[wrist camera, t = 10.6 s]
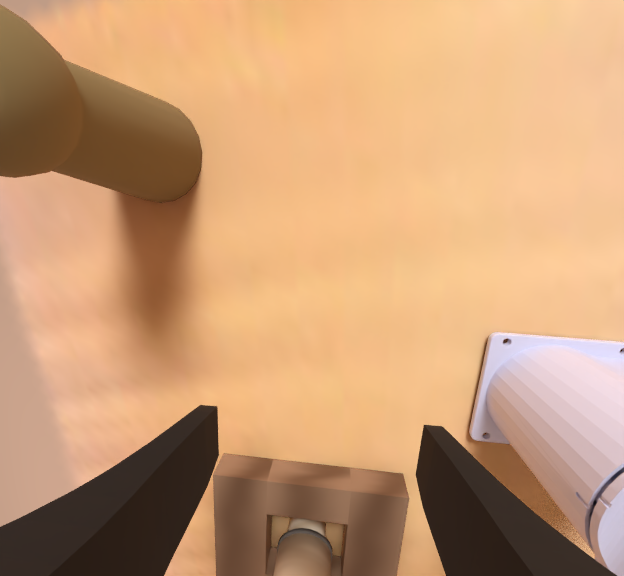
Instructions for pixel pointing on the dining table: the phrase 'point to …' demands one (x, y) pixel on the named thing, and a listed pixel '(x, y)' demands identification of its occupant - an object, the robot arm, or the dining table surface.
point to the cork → (87, 123)
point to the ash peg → (304, 550)
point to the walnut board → (306, 513)
